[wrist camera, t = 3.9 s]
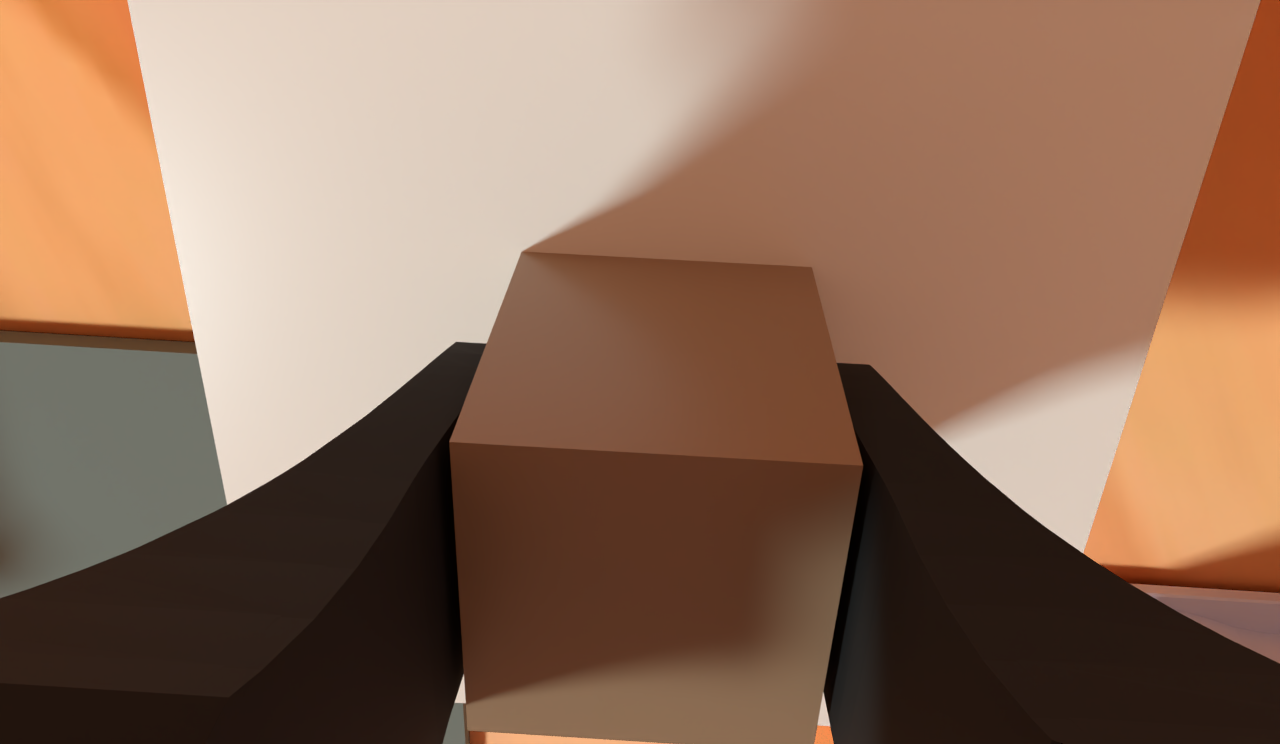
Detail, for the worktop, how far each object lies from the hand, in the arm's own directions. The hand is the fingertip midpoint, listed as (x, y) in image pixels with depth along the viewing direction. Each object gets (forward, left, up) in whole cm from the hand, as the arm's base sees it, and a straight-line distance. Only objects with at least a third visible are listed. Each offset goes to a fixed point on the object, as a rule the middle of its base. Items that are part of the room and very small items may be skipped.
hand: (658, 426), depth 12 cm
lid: (0, 0, -2) cm, 2 cm away
